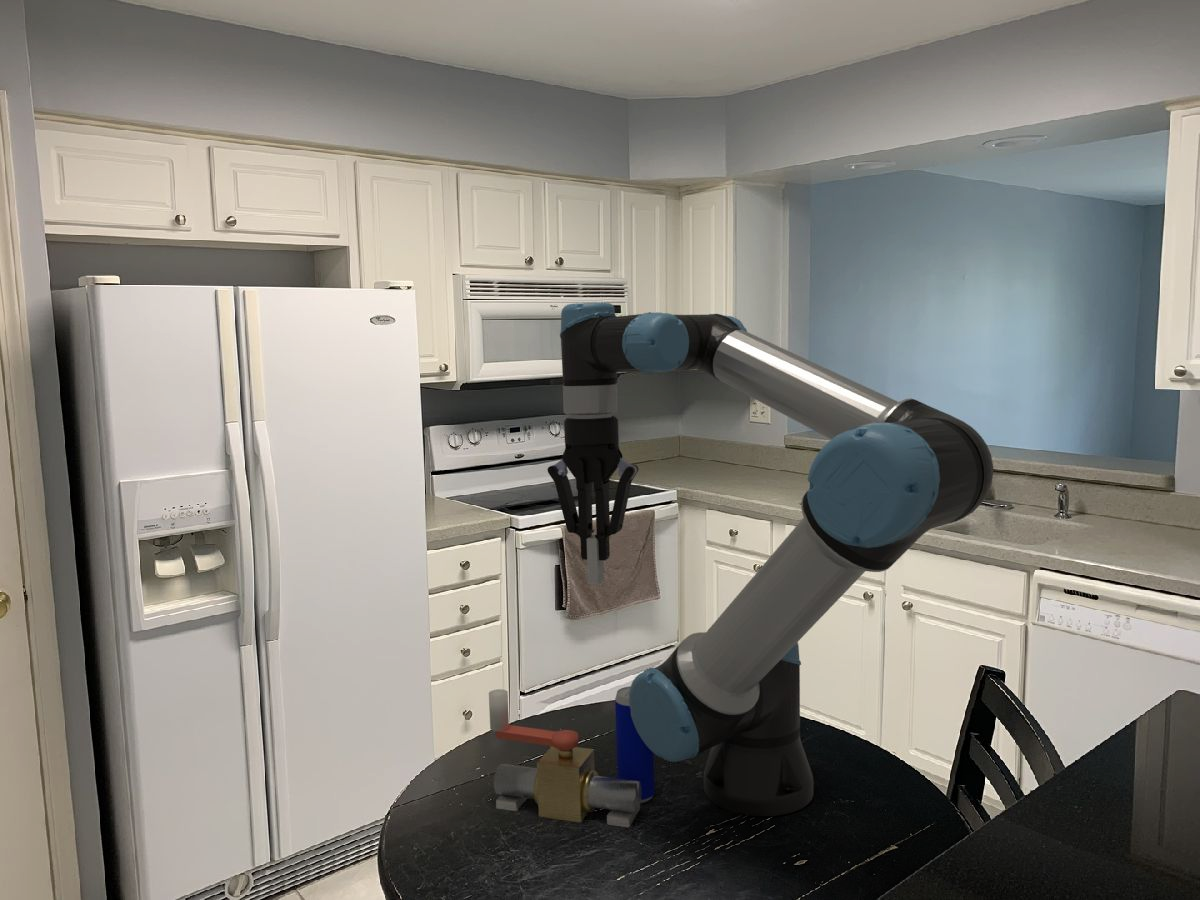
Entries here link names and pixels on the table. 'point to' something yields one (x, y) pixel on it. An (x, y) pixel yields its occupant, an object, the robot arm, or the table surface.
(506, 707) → the lever
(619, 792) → the valve
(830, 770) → the table surface
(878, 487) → the robot arm
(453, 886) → the table surface
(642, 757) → the beverage can
